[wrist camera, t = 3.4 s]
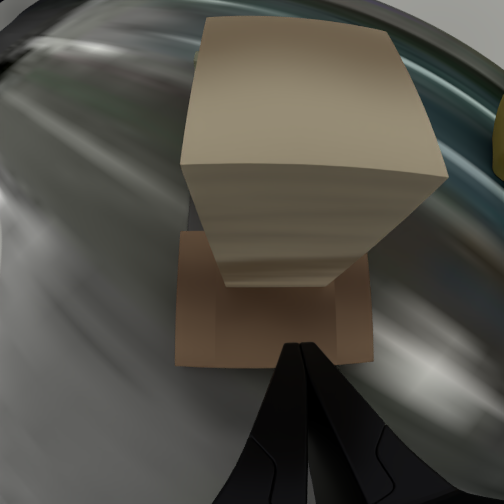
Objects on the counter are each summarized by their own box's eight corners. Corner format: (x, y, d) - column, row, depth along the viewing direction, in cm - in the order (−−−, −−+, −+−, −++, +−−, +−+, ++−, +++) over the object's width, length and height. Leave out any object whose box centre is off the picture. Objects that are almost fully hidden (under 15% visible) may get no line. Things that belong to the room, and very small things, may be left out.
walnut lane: (363, 360, 16) (394, 363, 12) (181, 364, 16) (161, 369, 12) (331, 93, 21) (342, 55, 18) (202, 90, 21) (195, 51, 17)
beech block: (325, 286, 16) (448, 177, 5) (226, 287, 15) (179, 164, 5) (318, 197, 17) (386, 31, 6) (228, 196, 17) (206, 17, 6)
